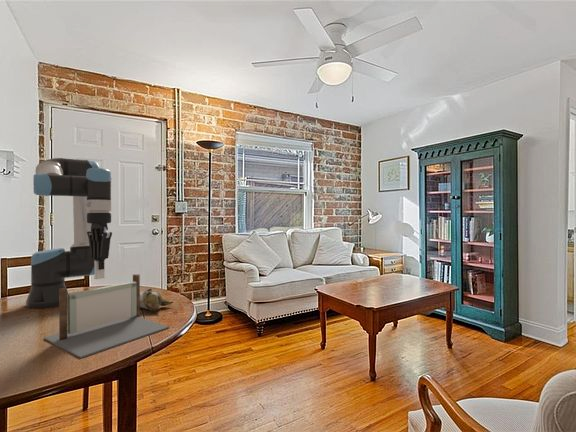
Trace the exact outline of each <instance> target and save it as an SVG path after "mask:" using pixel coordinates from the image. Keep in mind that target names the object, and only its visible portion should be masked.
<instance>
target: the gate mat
mask: <svg viewBox="0 0 576 432" xmlns="http://www.w3.org/2000/svg"><path fill="white" fill-rule="evenodd" d="M169 328H170V326H168V325H165V324H162V323H158V322H156V321H152V320H151V319H150V320H149V319H146V318H144V317H141V316H140V317H137V316H133V317H129V318H125V319H122V320H118V321H114V322H111V323H107V324H104V325H100V326H96V327H93V328H89V329H86V330H82V331H79V332H76V333H73V334H69V333H68V332H67V339H64V340H60V339H59V333H56V334H52V335H48V336H44V337H43V340H45V341H47V342H49V343H51V344H53V345H54V346H57V347H58V348H59V349H62V350H63V351H65V352H67V353H69V354H71V355H73V356H75V357H77V358H78V359H83V358H86V357H90V356H92V355H94V354H97V353H100V352H101V353H102V352H104V351H106V350H110V349H112V348H115V347H118V346H121V345H124V344H127V343H129V342H133V341H136V340H140V339H141V338H144V337H147V336H150V335H154V334H156V333H158V332H161V331H164V330H168V329H169Z"/></svg>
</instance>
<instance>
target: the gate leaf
mask: <svg viewBox="0 0 576 432" xmlns="http://www.w3.org/2000/svg"><path fill="white" fill-rule="evenodd" d="M133 316H137V301H136V282H133V281H129V282H125V283H117V284H113V285H107V286H102V287H98V288H90V289H86V290H81V291H75V292H70V293H69V292H68V294H67V332H68V333H69V334H73V333H76V332H79V331H82V330H86V329H89V328H93V327H96V326H100V325H104V324H107V323H111V322H114V321H118V320H122V319H125V318H129V317H133Z"/></svg>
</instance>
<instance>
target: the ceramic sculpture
mask: <svg viewBox="0 0 576 432" xmlns="http://www.w3.org/2000/svg"><path fill="white" fill-rule="evenodd" d="M171 304H174V301H169V300H167V299H166V298H163V297H162V295H161V294H160V292H158V291H153V289H152V288H149V289H146V290H144V292H142V291H140V310H141V309H146V310H149V311H151V312H157V311H159V310H161V307H165V306H169V305H171Z"/></svg>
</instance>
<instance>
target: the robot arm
mask: <svg viewBox="0 0 576 432" xmlns="http://www.w3.org/2000/svg"><path fill="white" fill-rule="evenodd" d="M111 175H112V172H111V170H109V169H107V168H101V167H100V165H99V163H98V162H97V161H94V160H89V159H74V158H63V157H54V158H53V157H52V158H49V159H46V160H43V161H41V162H39V163H38V164H37V165H36V167H35V174H33V177H32V178H33V182H32V183H33V194H34V195H36V196H44V197H49V196H51V197H52V196H53V197H72V204H73V205H72V206H73V207H72V212H73V216H72V217H73V244H71V246H70V247H69V249H70V250H67V251H66V250H65V248H63V247H61V248H60V247H59V248H50V249H45V250H41V251H37V252H34V253H32V255H31V261H30V267H31V268H30V269H31V270H30V272H31V274H30V277H31V278H30V283H31V284H30V285H31V286H30V291H29V292H28V296H27V298H26V300H25V308H28V309H34V310H35V309H36V310H39V309H48V308H53V307H59V289H61V288H67V287H66V285H65V283H66V282H65V280H66V278H77V277H87V276H89V277H90V276H93V275H94V280H101V279H105V277H106V276H105V275H106V273H105V260H106V259H108V258H109V257H110V255H109V254H110V247H111V238H112V235H113V232H112V231H109V229H108V224H111V223H112V213H111V211H112V176H111ZM67 294H69V292H68V290H67Z"/></svg>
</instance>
